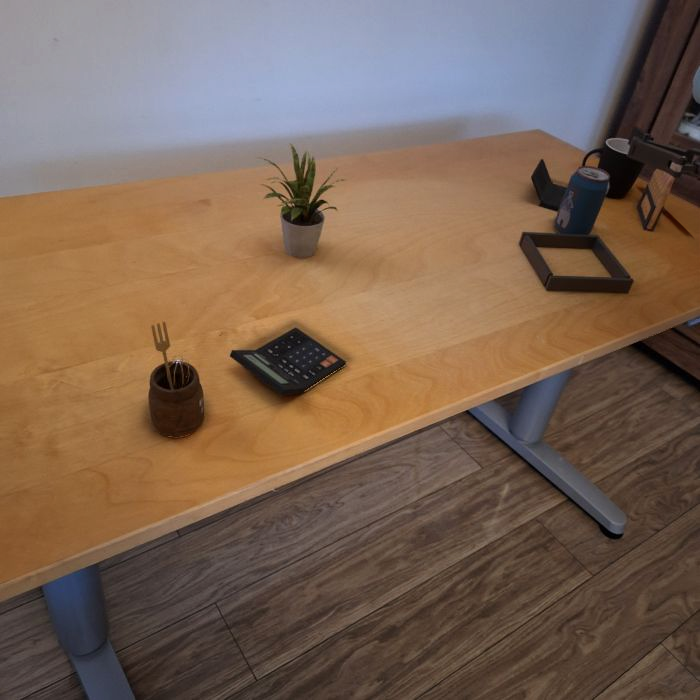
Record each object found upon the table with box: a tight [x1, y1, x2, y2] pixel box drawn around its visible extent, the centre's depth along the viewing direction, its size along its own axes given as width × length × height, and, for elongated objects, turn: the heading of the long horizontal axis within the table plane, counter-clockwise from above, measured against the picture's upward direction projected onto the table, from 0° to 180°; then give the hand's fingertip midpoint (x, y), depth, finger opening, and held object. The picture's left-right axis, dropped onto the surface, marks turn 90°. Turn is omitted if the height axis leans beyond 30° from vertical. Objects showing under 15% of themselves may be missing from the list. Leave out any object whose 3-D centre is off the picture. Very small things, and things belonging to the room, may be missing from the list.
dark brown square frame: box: [518, 231, 635, 294], centre depth 107 cm, size 15×15×2 cm
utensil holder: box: [147, 320, 205, 438], centre depth 67 cm, size 6×6×12 cm
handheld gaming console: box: [530, 158, 567, 212], centre depth 127 cm, size 12×7×10 cm
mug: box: [581, 137, 646, 199], centre depth 131 cm, size 12×9×10 cm
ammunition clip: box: [636, 168, 676, 232], centre depth 122 cm, size 11×2×12 cm, turn 167°
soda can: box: [554, 165, 610, 235], centre depth 114 cm, size 7×7×12 cm
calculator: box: [229, 327, 347, 397], centre depth 79 cm, size 9×12×3 cm
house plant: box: [256, 143, 348, 259], centre depth 97 cm, size 14×14×16 cm
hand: (675, 138), depth 97 cm, fingers open, 13 cm apart
